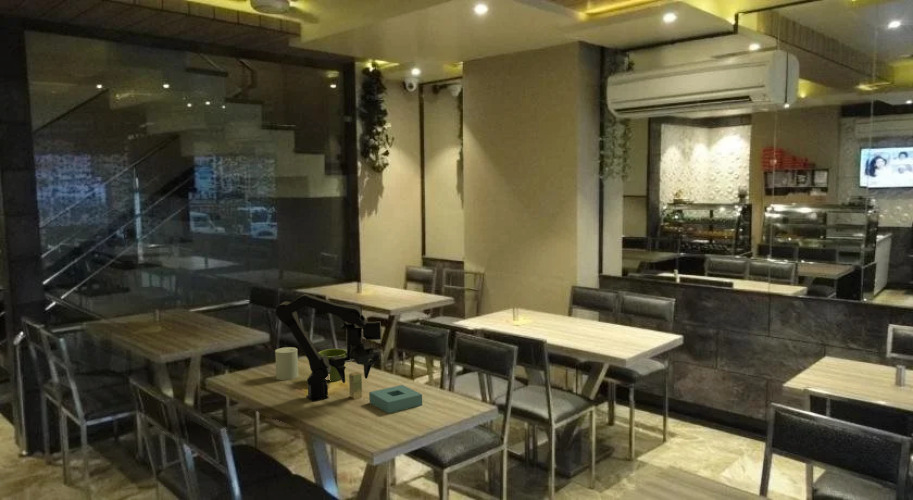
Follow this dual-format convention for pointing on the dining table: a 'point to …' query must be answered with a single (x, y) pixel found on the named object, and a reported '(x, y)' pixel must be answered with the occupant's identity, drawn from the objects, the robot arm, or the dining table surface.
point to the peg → (355, 385)
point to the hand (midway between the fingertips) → (355, 380)
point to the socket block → (395, 398)
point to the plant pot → (331, 353)
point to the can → (286, 363)
